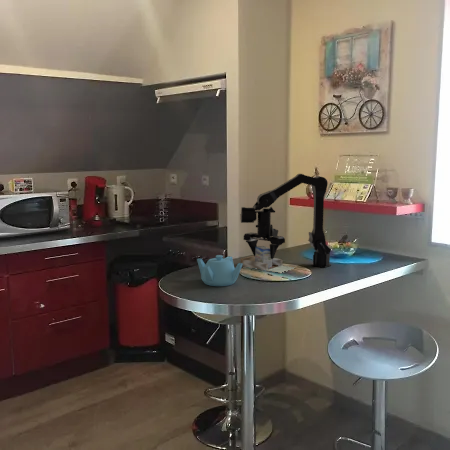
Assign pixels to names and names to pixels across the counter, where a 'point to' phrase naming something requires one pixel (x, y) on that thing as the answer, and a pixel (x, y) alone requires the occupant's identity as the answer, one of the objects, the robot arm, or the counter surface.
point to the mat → (281, 269)
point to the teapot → (219, 271)
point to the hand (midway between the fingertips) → (263, 257)
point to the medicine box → (263, 255)
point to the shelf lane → (259, 263)
